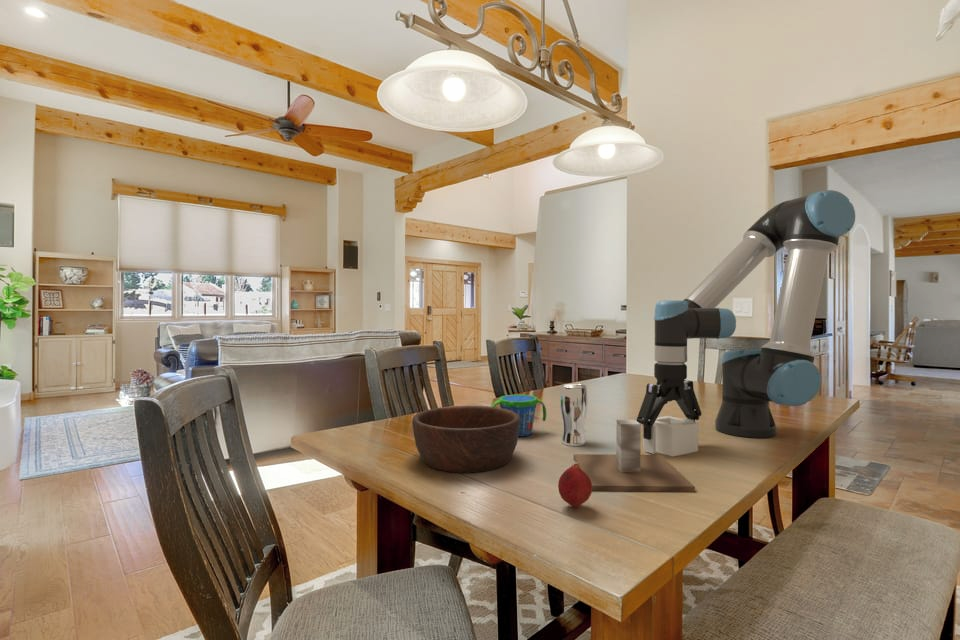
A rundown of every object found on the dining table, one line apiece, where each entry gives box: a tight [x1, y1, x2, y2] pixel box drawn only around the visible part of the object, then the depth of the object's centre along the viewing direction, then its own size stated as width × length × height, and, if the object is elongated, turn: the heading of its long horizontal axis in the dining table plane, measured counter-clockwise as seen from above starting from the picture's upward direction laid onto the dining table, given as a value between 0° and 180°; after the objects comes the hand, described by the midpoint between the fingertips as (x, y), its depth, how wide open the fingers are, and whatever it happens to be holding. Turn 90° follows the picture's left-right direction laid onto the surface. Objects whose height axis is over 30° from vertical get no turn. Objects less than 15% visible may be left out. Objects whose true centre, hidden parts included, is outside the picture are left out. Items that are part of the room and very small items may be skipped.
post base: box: [573, 419, 696, 493], centre depth 104 cm, size 20×20×11 cm
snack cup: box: [491, 394, 547, 437], centre depth 136 cm, size 16×10×10 cm
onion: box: [557, 461, 593, 509], centre depth 86 cm, size 6×6×8 cm
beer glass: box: [559, 383, 588, 447], centre depth 127 cm, size 7×7×15 cm
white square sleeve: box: [642, 415, 699, 457], centre depth 121 cm, size 9×9×7 cm
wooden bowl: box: [411, 405, 520, 473], centre depth 114 cm, size 25×25×10 cm
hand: (669, 448), depth 121 cm, fingers open, 13 cm apart
